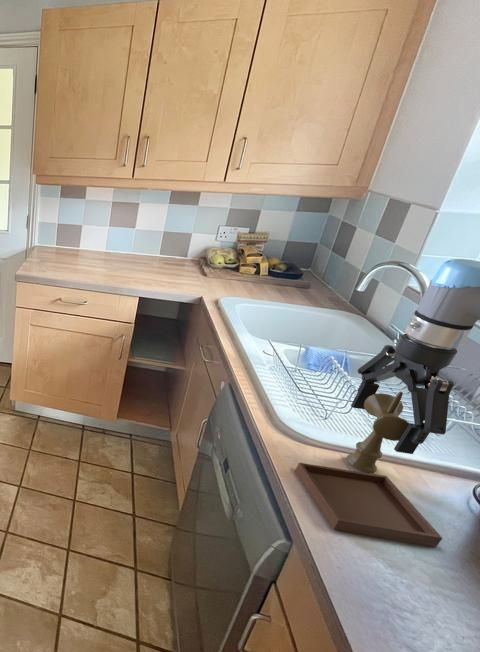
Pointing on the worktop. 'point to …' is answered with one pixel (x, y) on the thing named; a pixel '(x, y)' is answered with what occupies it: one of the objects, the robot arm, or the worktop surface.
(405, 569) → the worktop surface
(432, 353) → the robot arm
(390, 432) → the kendama
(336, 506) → the tray
